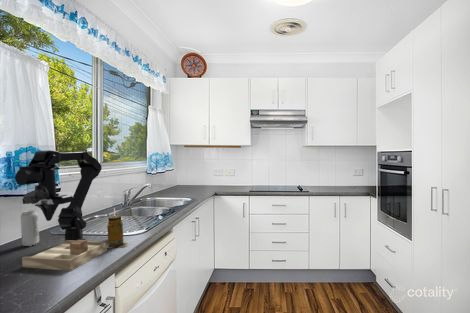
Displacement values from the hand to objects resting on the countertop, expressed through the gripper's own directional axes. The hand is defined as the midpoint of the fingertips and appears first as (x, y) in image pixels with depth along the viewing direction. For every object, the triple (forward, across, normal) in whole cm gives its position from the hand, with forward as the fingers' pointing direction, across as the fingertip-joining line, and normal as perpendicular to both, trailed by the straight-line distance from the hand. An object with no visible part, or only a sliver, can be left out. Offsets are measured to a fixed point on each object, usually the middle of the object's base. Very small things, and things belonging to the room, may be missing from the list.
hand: (48, 220), depth 107 cm
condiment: (+13, +22, +12) cm, 28 cm away
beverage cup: (+13, +15, +20) cm, 28 cm away
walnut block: (+10, +17, -4) cm, 21 cm away
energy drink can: (+13, -18, +7) cm, 23 cm away
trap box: (+13, +12, -4) cm, 18 cm away
